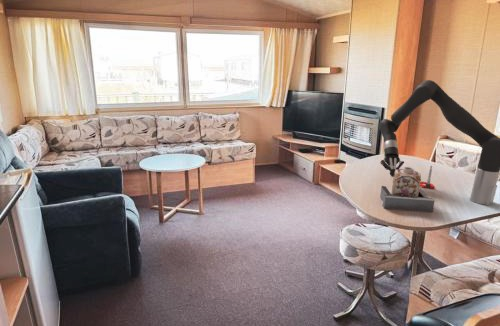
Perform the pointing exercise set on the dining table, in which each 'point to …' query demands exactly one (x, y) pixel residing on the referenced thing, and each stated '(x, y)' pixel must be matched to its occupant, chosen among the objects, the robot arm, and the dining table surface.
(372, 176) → the dining table surface
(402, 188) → the decorative jar
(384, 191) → the grey tray
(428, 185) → the tow hook
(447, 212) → the dining table surface
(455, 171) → the dining table surface
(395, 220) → the dining table surface
